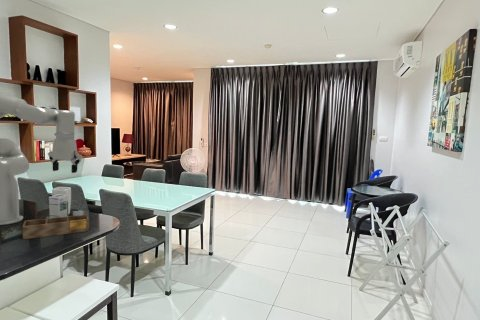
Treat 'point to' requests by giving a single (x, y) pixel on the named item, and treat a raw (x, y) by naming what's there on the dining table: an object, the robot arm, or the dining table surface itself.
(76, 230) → the rack
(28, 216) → the dining table surface
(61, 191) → the cup
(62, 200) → the syrup box
